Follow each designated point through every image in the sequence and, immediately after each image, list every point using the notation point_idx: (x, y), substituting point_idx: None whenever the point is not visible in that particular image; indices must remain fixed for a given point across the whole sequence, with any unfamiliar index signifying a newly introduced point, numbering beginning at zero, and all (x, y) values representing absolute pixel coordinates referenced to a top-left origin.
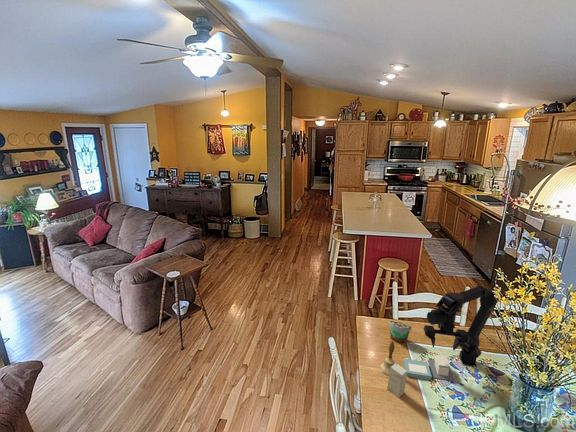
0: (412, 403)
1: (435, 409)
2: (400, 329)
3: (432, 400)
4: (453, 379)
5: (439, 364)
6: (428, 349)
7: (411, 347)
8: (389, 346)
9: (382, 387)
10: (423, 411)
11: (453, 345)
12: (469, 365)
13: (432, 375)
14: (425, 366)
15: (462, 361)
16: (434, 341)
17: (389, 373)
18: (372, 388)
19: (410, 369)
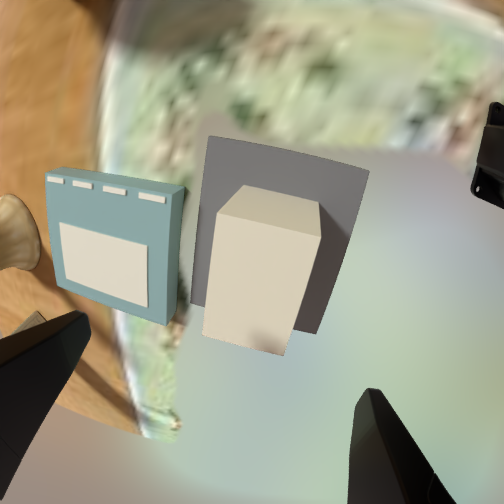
0: (96, 382)
1: (162, 413)
2: None
3: (158, 391)
4: (312, 325)
5: (204, 330)
6: (270, 3)
7: (139, 9)
8: None
9: (19, 314)
10: (126, 407)
11: (373, 440)
12: (500, 207)
13: (193, 283)
14: (145, 249)
15: (482, 172)
16: (22, 448)
17: (16, 267)
18: (4, 312)
19: (68, 269)
